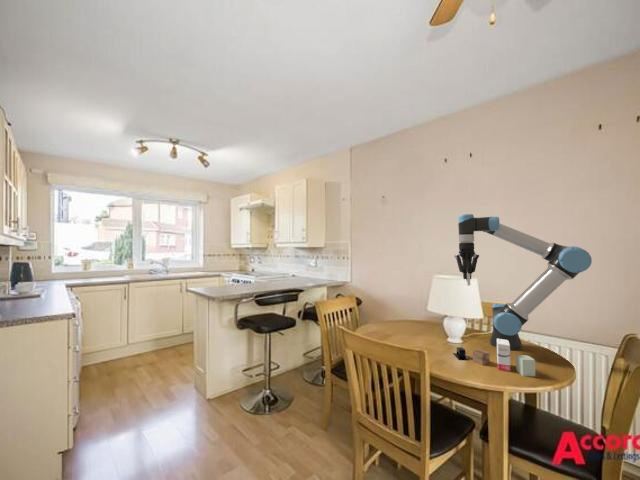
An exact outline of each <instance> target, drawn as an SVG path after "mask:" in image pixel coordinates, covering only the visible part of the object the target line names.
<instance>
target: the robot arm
mask: <svg viewBox="0 0 640 480" xmlns="http://www.w3.org/2000/svg"><path fill="white" fill-rule="evenodd" d="M457 226H458V242H459V243H458V249H459V250H458V253H457V254H455V255H454V258H455V259H456V262H457V265H458V266H457V268H458V270H459V272H460V273H461V274H462V275H463V277H462V278H463V279H464V280H465V279H466V282H467V285H466V286H471V280H472V274H473V273H474V272H476V268H477V263H478V259H479V258H480V254H477V253H476V252H475V232H483V233H487V234H489V235H492V236H493V237H496V238H499V239H500V240H503V241H506V242H508V243H510V244H513V245H515V246H517V247H520V248H522V249H523V250H524V249H525V250H526V251H529V252H532V253H533V254H536V255H538V256H540V257H541V258H542V260H545V261H547V268H546V269H545V270H544V271H543V272H542V273H541V274H540V275H538V277H537V278H536V279H535V280H534V281H533V282H532V283H531V284H530V285H529V286H527V288H526V289H525V290H523V291H522V293H521V294H519V295H518V296H517V297H516V299H514V300H513V301H512V302H506V303H493V304H492V307H491V309H492V331H491V335H490V338H489V345H491V346H493V347H495V348H497V339H504V340H508V341H509V344H510V351H517V350H522V348H523V343H522V340H521V338H520V336H519V332H520V331H521V330H522V327H523V326H524V325H525V324H526V323H527V322H528V321H529V315H530V314H532V312H533V311H534V310H535V309H537V308H538V307H539V306H540V305H541V304H542V303H543V302H544V301H545V300H546V299H547V298H548V297H550V295H552V294H553V292H555V291H556V290H557V289H559V287H560V286H561V285H562V284H563V283H564V282H566V281H567V280H570V281H571V280H574V278H576V277H577V275H579V274H580V273H583V272H585V271H587V270H588V269H589V268H590V267H591V266H592V263H593V262H592V260H593V259H592V256H591V254H590V252H588V251H587V250H586V249H583V248H582V247H579V246H566V245H562V244H557V243H555V242H547V241H545V240H543V239H540V238H538V237H536V236H532V235H530V234H527V233H525V232H523V231H520V230H517V229H515V228H512V227H509V226H507V225H505V224H503V223H500V217H499V216H483V217H482V216H481V217H475V216H474V214H473V213H467V214H466V213H465V214H459V216H458V225H457Z"/></svg>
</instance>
